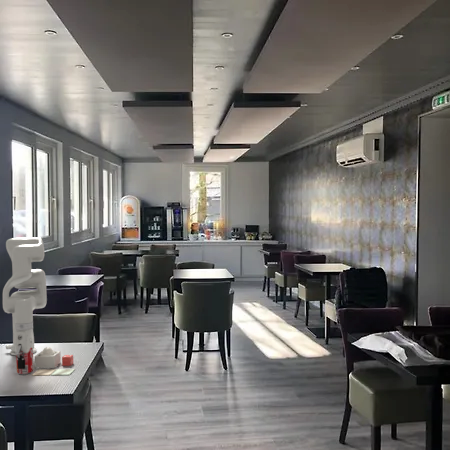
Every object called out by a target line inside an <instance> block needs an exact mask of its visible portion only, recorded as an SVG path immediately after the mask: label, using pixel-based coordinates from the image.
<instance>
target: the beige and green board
mask: <svg viewBox="0 0 450 450" xmlns="http://www.w3.org/2000/svg"><path fill="white" fill-rule="evenodd" d="M75 370H76V369H75V368H67V369H66V368H63V369H61V368H60V369H59V368H58V369H55V368H42V369H37V370H36V371H35V372H33V373H32V374H31V376H32V377H39V376H41V377H42V376H45V377H46V376H47V377H49V376H51V377H52V376H70V375H71V374H73V373H74V372H75Z"/></svg>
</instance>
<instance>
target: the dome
mask: <svg viewBox="0 0 450 450" xmlns="http://www.w3.org/2000/svg"><path fill="white" fill-rule="evenodd" d="M55 351H56V350H53V348H51V347H49V346H46V347H44V348H43V349H42V352H41V351H40V352H39V353H40V356H53V355H54V354H55Z"/></svg>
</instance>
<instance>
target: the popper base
mask: <svg viewBox="0 0 450 450" xmlns="http://www.w3.org/2000/svg"><path fill="white" fill-rule="evenodd" d="M42 351H43V350H42ZM42 351H40V352H42ZM54 351H55V354H54V355H53V356H40V352H38V353H37V354H36V355H34V369H55V368H56V367H57V366H58V365H60V364H62V355H61V350H60V351H59V350H54Z"/></svg>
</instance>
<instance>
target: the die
mask: <svg viewBox="0 0 450 450" xmlns="http://www.w3.org/2000/svg"><path fill="white" fill-rule="evenodd" d="M73 364H74V355H73V354H65V355H63V356H61V366H62V367H66V366H67V367H69V366H71V367H72V365H73Z"/></svg>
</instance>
